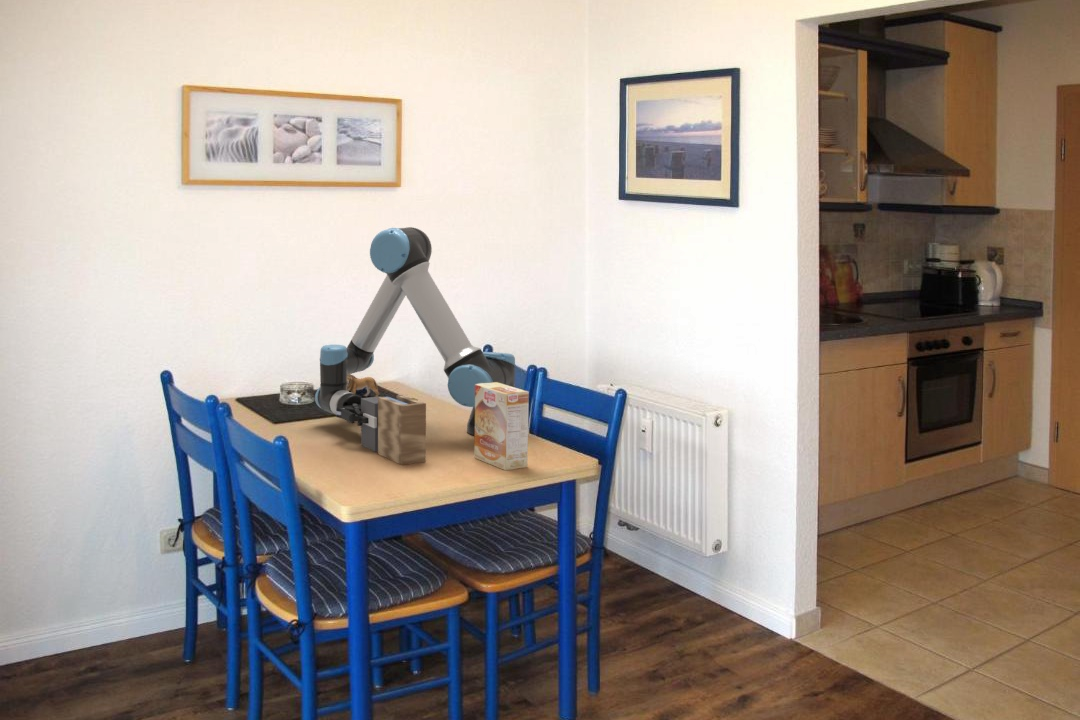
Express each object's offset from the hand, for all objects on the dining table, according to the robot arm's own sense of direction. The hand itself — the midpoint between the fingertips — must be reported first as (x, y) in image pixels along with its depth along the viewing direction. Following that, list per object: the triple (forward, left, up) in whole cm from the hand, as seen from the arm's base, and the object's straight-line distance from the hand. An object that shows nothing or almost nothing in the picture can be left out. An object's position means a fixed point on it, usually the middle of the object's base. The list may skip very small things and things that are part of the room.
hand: (387, 421), depth 284 cm
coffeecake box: (-31, +7, -8) cm, 32 cm away
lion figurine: (+25, -69, -8) cm, 74 cm away
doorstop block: (+4, -4, -8) cm, 10 cm away
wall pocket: (-5, +5, -8) cm, 11 cm away
